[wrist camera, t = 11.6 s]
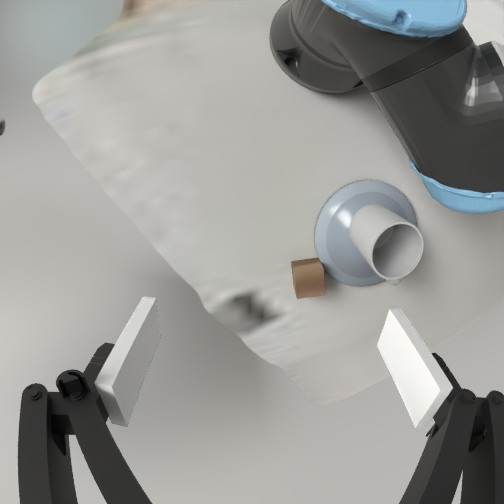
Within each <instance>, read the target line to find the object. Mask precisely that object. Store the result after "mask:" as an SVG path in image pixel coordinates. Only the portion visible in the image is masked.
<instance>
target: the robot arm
mask: <svg viewBox="0 0 504 504" xmlns="http://www.w3.org/2000/svg"><path fill="white" fill-rule="evenodd" d="M466 12H467V2H466V0H288V1H287V2H286V3H284V4H283V5H282V6H281V7H280V8H279V10H278V11H277V13H276V14H275V16H274V18H273V21H272V24H271V29H270V47H271V51H272V53H273V56H274V58H275V60H276V62H277V63H278V65H279V66H280V68H281V69H282V70H283V71H284V72H285V73H286V74H287V75H288V76H289V77H290V78H291V79H293V80H294V81H296V82H297V83H299V84H300V85H302V86H304V87H306V88H309V89H311V90H314V91H318V92H322V93H332V94H336V93H345V92H349V91H352V90H354V89H357V88H359V87H361V86H363V85H365V86H366V87H367V89H368V90H369V92H370V94H371V95H372V97H373V98H374V100H375V101H376V103H377V104H378V106H379V107H380V109H381V111H382V112H383V114H384V115H385V117H386V118H387V120H388V122H389V123H390V125H391V127H392V128H393V130H394V132H395V133H396V135H397V137H398V139H399V140H400V142H401V144H402V146H403V147H404V149H405V151H406V153H407V155H408V157H409V162H410V164H411V166H412V167H413V169H414V170H415V171H416V172H417V173H418V174H419V176H420V177H421V179H422V181H423V183H424V185H425V187H426V188H427V190H428V192H429V193H430V195H431V196H432V197H433V198H434V199H436V200H437V201H438V202H439V203H440V204H442V205H443V206H445V207H447V208H450V209H452V210H455V211H458V212H463V213H471V214H484V213H492V212H496V211H500V210H503V209H504V45H502V44H500V43H498V42H496V41H490V42H487V43H485V44H482V45H479V46H477V45H476V44H475V43H474V41H473V40H472V38H471V37H470V35H469V33H468V32H467V30H466V29H465V27H464V25H463V24H462V22H463V20H464V18H465V16H466ZM160 339H161V335H160V327H159V320H158V310H157V301H156V298H151V297H143V298H142V299H141V301H140V303H139V305H138V306H137V308H136V309H135V311H134V313H133V314H132V316H131V318H130V320H129V321H128V323H127V325H126V326H125V328H124V330H123V332H122V334H121V335H120V337H119V339H118V340H117V342H116V344H110V343H104V344H103V345H102V346H100V347H99V348H98V349H97V351H96V353H95V354H94V357H92V359H91V361H90V363H89V364H88V366H87V367H86V369H85V371H84V373H82V372H80V371H78V370H67V371H65V372H62V373H61V374H60V375H59V376H58V378H57V380H56V386H57V388H58V390H59V392H48V391H47V389H46V388H45V386H43V385H41V384H37V383H35V384H31V385H29V386H28V387H26V388H25V389H24V391H23V393H22V400H21V409H20V421H19V437H18V438H19V439H18V440H19V441H18V478H19V479H18V480H19V496H20V504H78V502H77V497H76V491H75V486H74V479H73V473H72V466H71V457H70V448H69V435H76V437H77V440H78V443H79V445H80V448H81V450H82V453H83V454H84V457H85V460H86V462H87V464H88V466H89V469H90V471H91V473H92V475H93V477H94V479H95V481H96V483H97V485H98V487H99V489H100V491H101V493H102V495H103V496H104V499H105V500H106V502H107V504H152V503H151V501H150V500H149V498H148V497H147V495H146V494H145V492H144V491H143V489H142V487H141V486H140V484H139V483H138V481H137V480H136V478H135V476H134V475H133V473H132V471H131V470H130V468H129V466H128V465H127V463H126V461H125V459H124V458H123V456H122V454H121V452H120V450H119V448H118V447H117V445H116V443H115V441H114V439H113V437H112V435H111V433H110V431H109V429H108V427H107V425H106V421H107V418H108V416H109V418H110V421H111V423H113V424H117V425H121V426H125V427H127V426H128V424H129V420H130V418H131V415H132V412H133V409H134V407H135V404H136V401H137V399H138V396H139V393H140V390H141V388H142V385H143V382H144V380H145V377H146V374H147V371H148V369H149V367H150V364H151V362H152V359H153V356H154V354H155V351H156V349H157V346H158V343H159V341H160ZM377 347H378V349H379V351H380V353H381V355H382V357H383V359H384V361H385V363H386V365H387V368H388V370H389V372H390V374H391V376H392V378H393V380H394V382H395V384H396V386H397V389H398V391H399V393H400V395H401V397H402V399H403V401H404V404H405V406H406V408H407V410H408V413H409V415H410V417H411V420H412V422H413V424H414V426H415V428H417V427H422V426H426V425H428V423H429V422H430V421H431V420H432V418H433V419H434V421H435V424H434V425H433V427H432V428H431V429H430V431H429V432H428V433H427V435H426V436H428V435H429V434H430V435H429V438H428V441H427V443H426V446H425V449H424V451H423V453H422V456H421V458H420V461H419V463H418V465H417V468H416V470H415V472H414V474H413V476H412V479H411V481H410V483H409V485H408V487H407V489H406V491H405V493H404V495H403V497H402V499H401V501H400V503H399V504H451V503H452V500H453V498H454V495H455V492H456V489H457V486H458V483H459V480H460V477H461V473H462V470H463V479H462V492H461V503H460V504H504V395H503V394H502V393H501V392H499V391H491V392H490V393H489V394H488V396H487V397H486V398H481V397H480V398H479V397H476V396H475V394H474V393H473V392H472V391H470V390H468V389H462V388H461V387H460V385H459V384H458V382H457V381H456V379H455V377H454V376H453V374H452V373H451V372H450V370H449V368H448V367H447V366H446V364H445V362H444V361H443V359H442V358H441V357H440V356H438V355H437V354H436V353H431V352H430V351H429V349H428V348H427V346H426V345H425V343H424V342H423V340H422V339H421V337H420V336H419V334H418V333H417V331H416V330H415V329H414V327H413V326H412V324H411V323H410V321H409V320H408V319H407V317H406V316H405V314H404V313H403V312H402V310H401V309H390V310H389V313H388V316H387V319H386V322H385V325H384V328H383V331H382V333H381V336H380V339H379V342H378V344H377Z"/></svg>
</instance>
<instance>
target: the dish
mask: <svg viewBox="0 0 504 504" xmlns="http://www.w3.org/2000/svg"><path fill="white" fill-rule="evenodd" d="M368 204H381V205H383V206H385V207H387V208H389V209H390V210H392V211H393V212H395V213H397V214H398V215H400V216H401V217H403V218H404V219H406V220H407V221H409V222H410V223H411V224H413V225H414V226H415V227H416V218H415V214H414V211H413V208H412V206H411V204H410V202H409V201H408V199H407V198H406V197H405V195H404V194H403V193H401V192H400V191H399V190H398V189H396V188H395V187H393V186H391V185H389V184H387V183H385V182H381V181H377V180H360V181H356V182H352V183H350V184H348V185H345V186H344V187H342V188H340V189H339V190H338V191H336V192H335V193H334V194H333V195H332V196H331V197H330V198H329V199H328V200H327V201H326V203H325V204H324V206H323V207H322V209H321V211H320V213H319V215H318V218H317V221H316V225H315V231H314V243H315V249H316V253H317V255H318V258H319V260H320V262H321V264H322V265H323V267H324V269H325V270H326V271H327V272H328V273H329V274H330V275H331V276H332V277H333V278H335V279H336V280H338V281H340V282H342V283H344V284H347V285H351V286H370V285H374V284H377V283H380V282H382V281H384V280H386V279H385V278H382V277H380V276H379V275H378V274H376V272H375V271H374V270H373V268H372V267H371V266H370V265H369V263H368V262H367V261H366V259H365V258H364V257H363V256H362V254H361V253H360V252H359V251H358V249H357V248H356V247H355V245H354V244H353V243H352V241H351V238H350V234H349V227H350V222H351V220H352V218H353V216H354V215H355V213H356V212H357V211H358V210H359V209H360V208H362V207H364V206H366V205H368Z"/></svg>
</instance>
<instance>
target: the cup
mask: <svg viewBox="0 0 504 504" xmlns="http://www.w3.org/2000/svg"><path fill="white" fill-rule="evenodd" d="M349 234H350V238H351V241H352V243H353V244H354V245H355V247H356V248H357V249H358V251H359V252H360V253H361V254H362V256H363V257H364V258H365V259H366V261H367V262H368V263H369V265H370V266H371V267H372V268H373V270H374V271H375V272H376V274H378V275H379V276H380V277H382V278H385V279H386V280H387V282H388V283H389V284H391V285H397V284H398V283H399V282H400V281H401V279H402V277H404V276H406V275H408V274H409V273H410V272H411V271H413V270H414V268H415V267H416V266H417V265H418V263H419V261H420V259H421V257H422V253H423V246H424V242H423V238H422V235H421V233H420V231H419V229H417V228H416V227H415V226H414V225H413V224H411V223H410V222H409V221H407V220H406V219H404V218H403V217H401V216H400V215H398V214H397V213H395V212H393V211H392V210H390V209H389V208H387V207H385V206H383V205H381V204H368V205H366V206H364V207H362V208H360V209H359V210H358V211H357V212H356V213H355V215H354V216H353V218H352V220H351V222H350V227H349Z"/></svg>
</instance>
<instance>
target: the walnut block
mask: <svg viewBox="0 0 504 504" xmlns="http://www.w3.org/2000/svg"><path fill="white" fill-rule="evenodd" d="M291 264H292V274H293V284H294V289H295V293H296V297H297V299H300V298H307V297H314V296H320V295H325V280H324V268H323V266H322V264H321V262H320V260H319V258H312V259H305V260H297V261H291Z"/></svg>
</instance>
